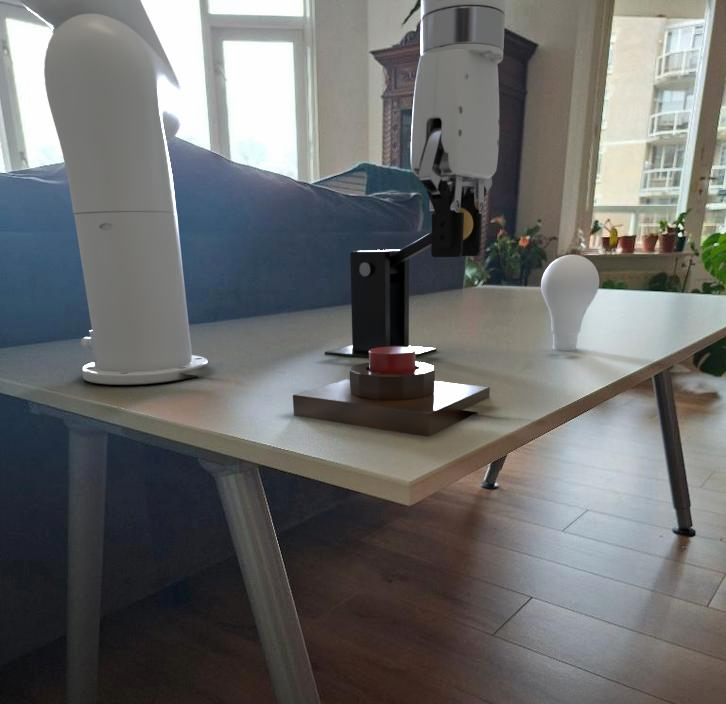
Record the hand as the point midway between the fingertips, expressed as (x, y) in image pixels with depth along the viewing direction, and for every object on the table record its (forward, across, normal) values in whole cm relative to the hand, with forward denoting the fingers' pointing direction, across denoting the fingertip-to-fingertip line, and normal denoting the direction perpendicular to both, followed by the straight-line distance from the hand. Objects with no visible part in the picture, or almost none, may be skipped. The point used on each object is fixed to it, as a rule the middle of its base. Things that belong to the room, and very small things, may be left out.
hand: (456, 254), depth 67 cm
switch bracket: (+11, 0, -9) cm, 15 cm away
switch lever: (+1, 0, -4) cm, 4 cm away
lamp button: (+8, +20, +5) cm, 22 cm away
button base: (+11, +20, +5) cm, 23 cm away
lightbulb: (+12, -12, +8) cm, 18 cm away
